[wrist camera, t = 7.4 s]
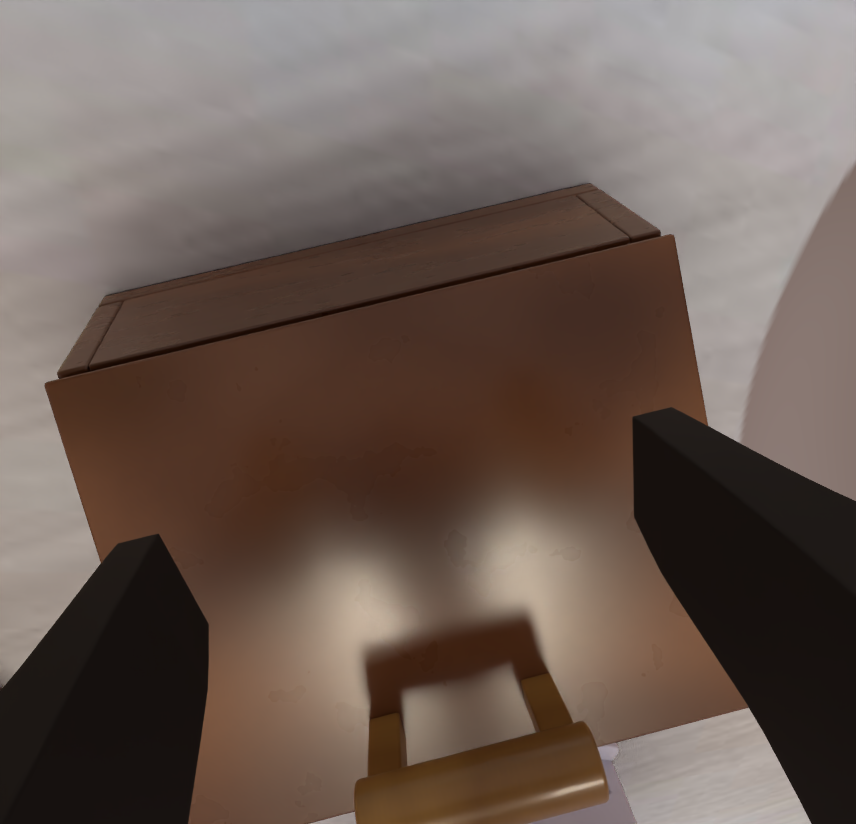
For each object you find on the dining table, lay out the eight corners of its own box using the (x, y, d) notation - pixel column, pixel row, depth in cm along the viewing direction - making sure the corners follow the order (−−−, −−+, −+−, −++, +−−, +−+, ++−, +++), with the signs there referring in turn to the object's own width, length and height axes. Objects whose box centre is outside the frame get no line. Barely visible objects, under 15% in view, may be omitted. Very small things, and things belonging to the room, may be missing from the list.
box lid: (746, 692, 16) (861, 809, 12) (199, 835, 16) (139, 1005, 12) (663, 236, 15) (766, 204, 11) (55, 380, 14) (-68, 402, 10)
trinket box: (604, 475, 24) (658, 561, 21) (235, 567, 24) (223, 672, 20) (591, 181, 18) (661, 229, 15) (103, 295, 18) (54, 373, 14)
